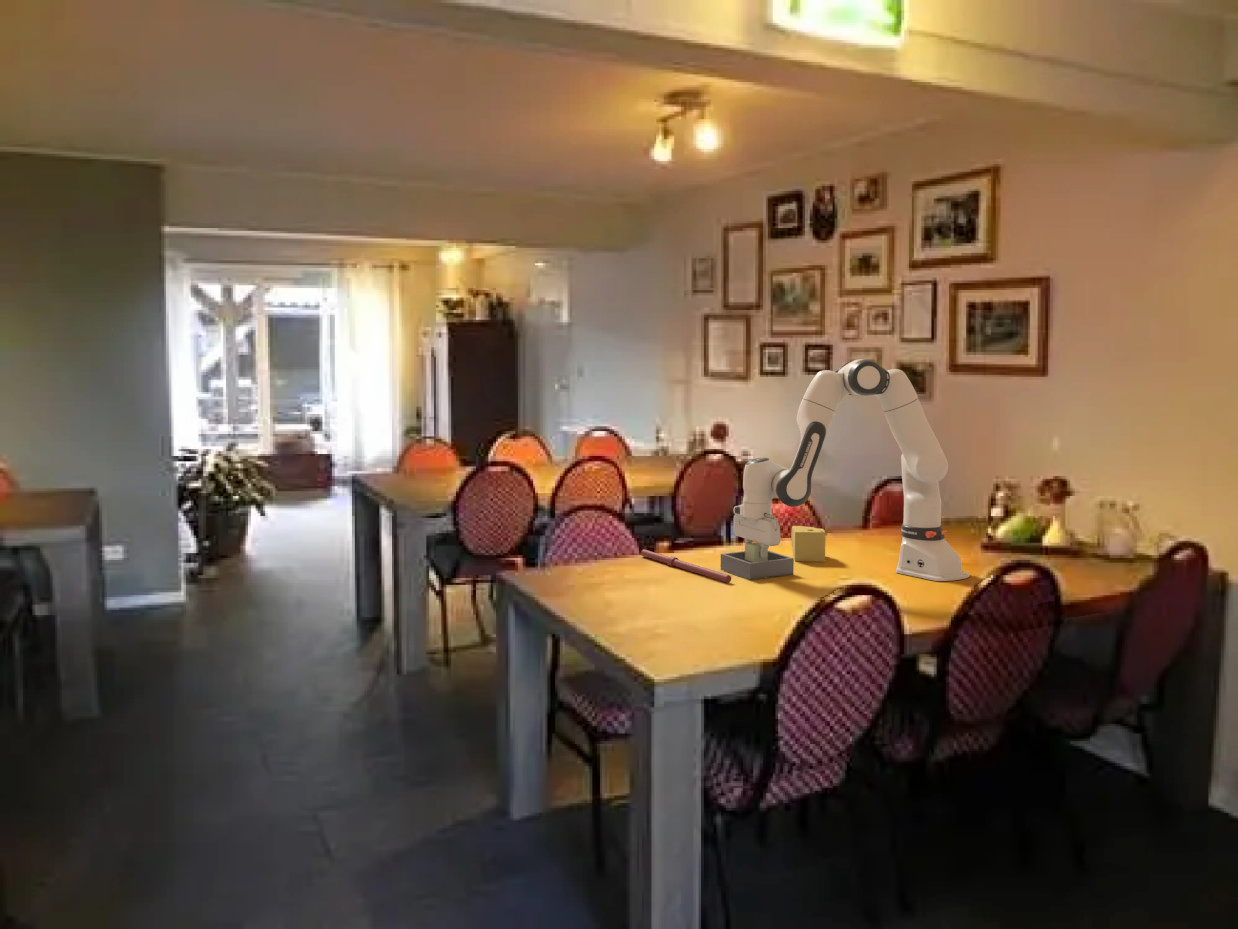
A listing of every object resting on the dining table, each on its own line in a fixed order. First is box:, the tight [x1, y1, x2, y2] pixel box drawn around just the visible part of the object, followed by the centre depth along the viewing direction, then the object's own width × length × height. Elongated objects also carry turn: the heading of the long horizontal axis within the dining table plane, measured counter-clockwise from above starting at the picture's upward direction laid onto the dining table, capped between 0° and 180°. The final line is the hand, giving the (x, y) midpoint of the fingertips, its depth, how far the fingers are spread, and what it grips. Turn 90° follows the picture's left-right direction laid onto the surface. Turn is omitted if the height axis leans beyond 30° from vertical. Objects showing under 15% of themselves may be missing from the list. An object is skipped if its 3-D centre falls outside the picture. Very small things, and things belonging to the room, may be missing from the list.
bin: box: [720, 550, 795, 581], centre depth 309 cm, size 16×16×5 cm
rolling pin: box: [640, 549, 732, 584], centre depth 314 cm, size 45×3×3 cm, turn 33°
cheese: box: [790, 525, 826, 563], centre depth 328 cm, size 10×11×10 cm
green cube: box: [744, 542, 769, 562], centre depth 309 cm, size 5×5×5 cm
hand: (756, 555), depth 309 cm, fingers closed on green cube, 5 cm apart
